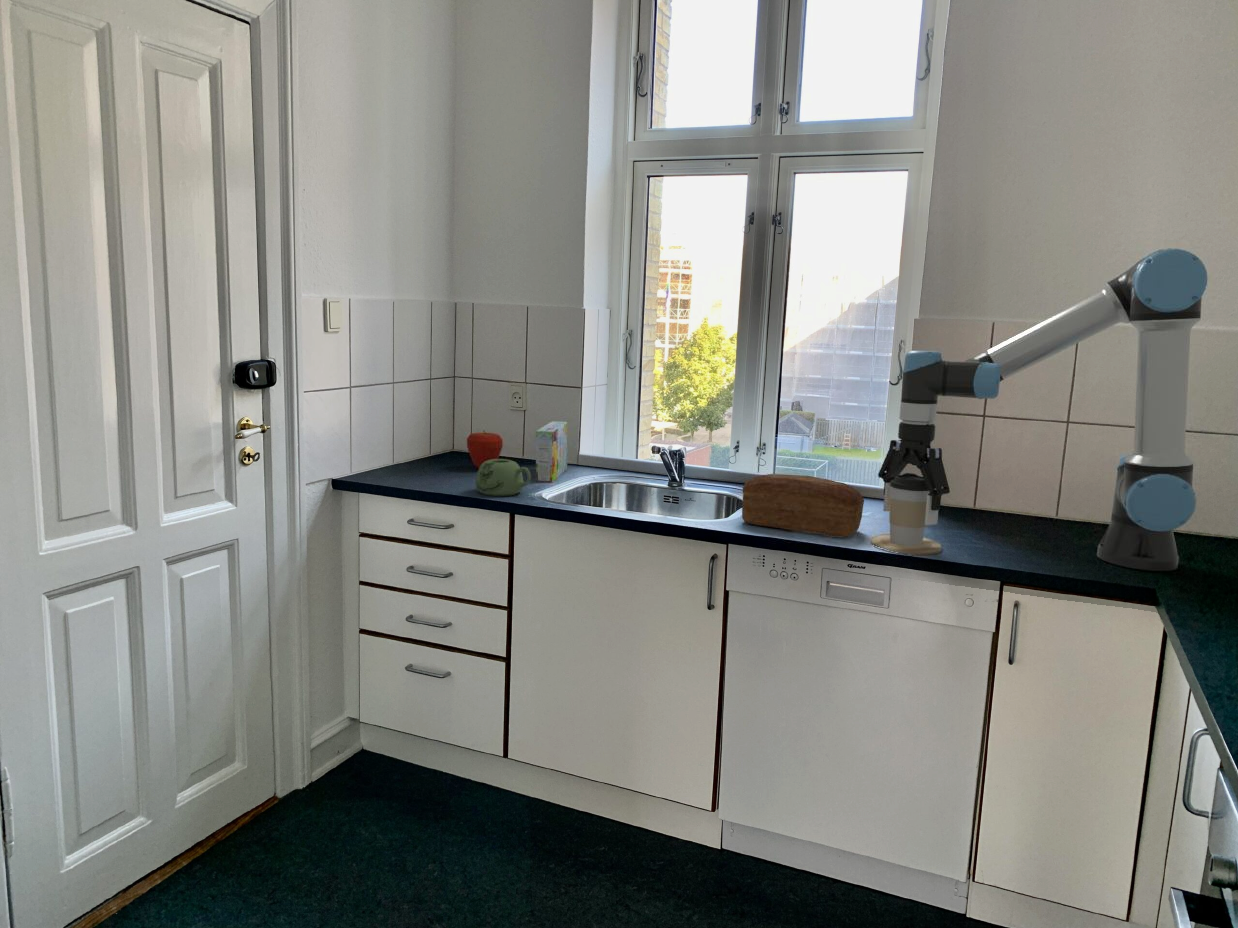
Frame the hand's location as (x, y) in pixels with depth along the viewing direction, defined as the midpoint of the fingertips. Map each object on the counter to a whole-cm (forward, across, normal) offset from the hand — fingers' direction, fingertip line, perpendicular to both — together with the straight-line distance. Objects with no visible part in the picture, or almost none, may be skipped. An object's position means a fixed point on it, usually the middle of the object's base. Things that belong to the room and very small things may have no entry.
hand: (909, 517), depth 195 cm
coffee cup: (+6, 0, 0) cm, 6 cm away
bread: (+7, +21, +14) cm, 26 cm away
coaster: (+6, 0, 0) cm, 7 cm away
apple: (+5, +109, +69) cm, 129 cm away
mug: (+6, +74, +72) cm, 104 cm away
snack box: (+6, +95, +52) cm, 109 cm away
